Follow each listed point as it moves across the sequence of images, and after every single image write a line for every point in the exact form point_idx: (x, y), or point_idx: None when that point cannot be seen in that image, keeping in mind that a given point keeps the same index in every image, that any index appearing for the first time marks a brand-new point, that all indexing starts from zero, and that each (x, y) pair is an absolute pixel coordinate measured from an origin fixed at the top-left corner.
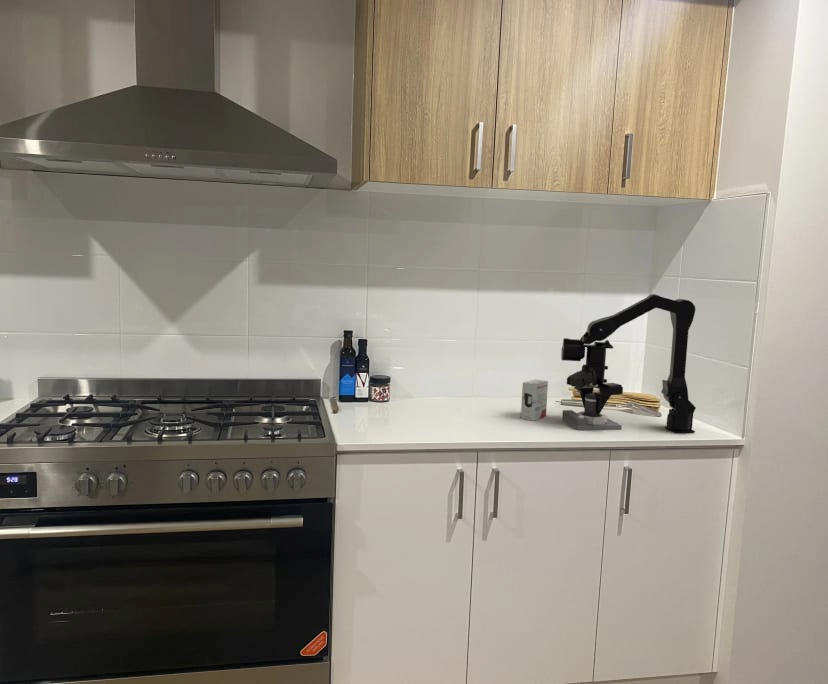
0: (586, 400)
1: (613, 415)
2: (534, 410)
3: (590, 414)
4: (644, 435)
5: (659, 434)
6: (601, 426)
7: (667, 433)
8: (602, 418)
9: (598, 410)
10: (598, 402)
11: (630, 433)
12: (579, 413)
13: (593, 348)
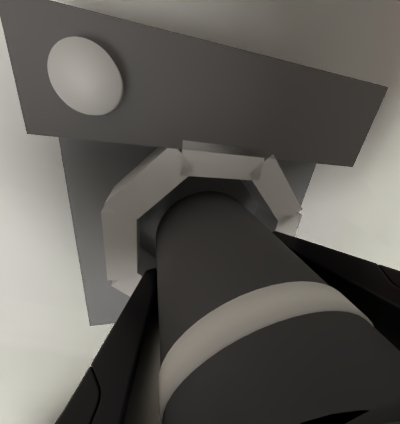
0: (270, 286)
1: None
2: None
3: (169, 224)
4: None
5: (22, 398)
6: (75, 230)
7: (45, 414)
8: (108, 274)
9: (135, 299)
10: (72, 404)
11: (18, 322)
12: (261, 175)
13: None
